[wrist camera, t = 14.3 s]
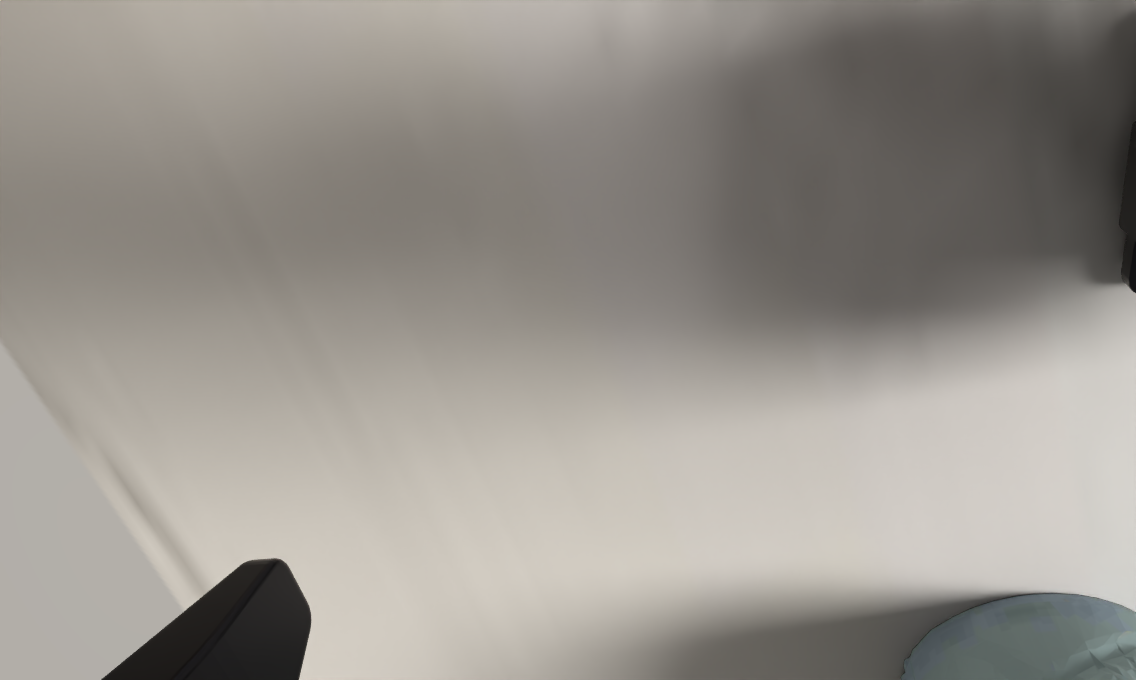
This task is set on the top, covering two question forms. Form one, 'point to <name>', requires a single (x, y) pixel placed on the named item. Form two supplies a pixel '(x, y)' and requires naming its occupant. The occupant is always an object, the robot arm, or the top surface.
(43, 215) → the top surface
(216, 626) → the robot arm
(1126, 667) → the teal canister
